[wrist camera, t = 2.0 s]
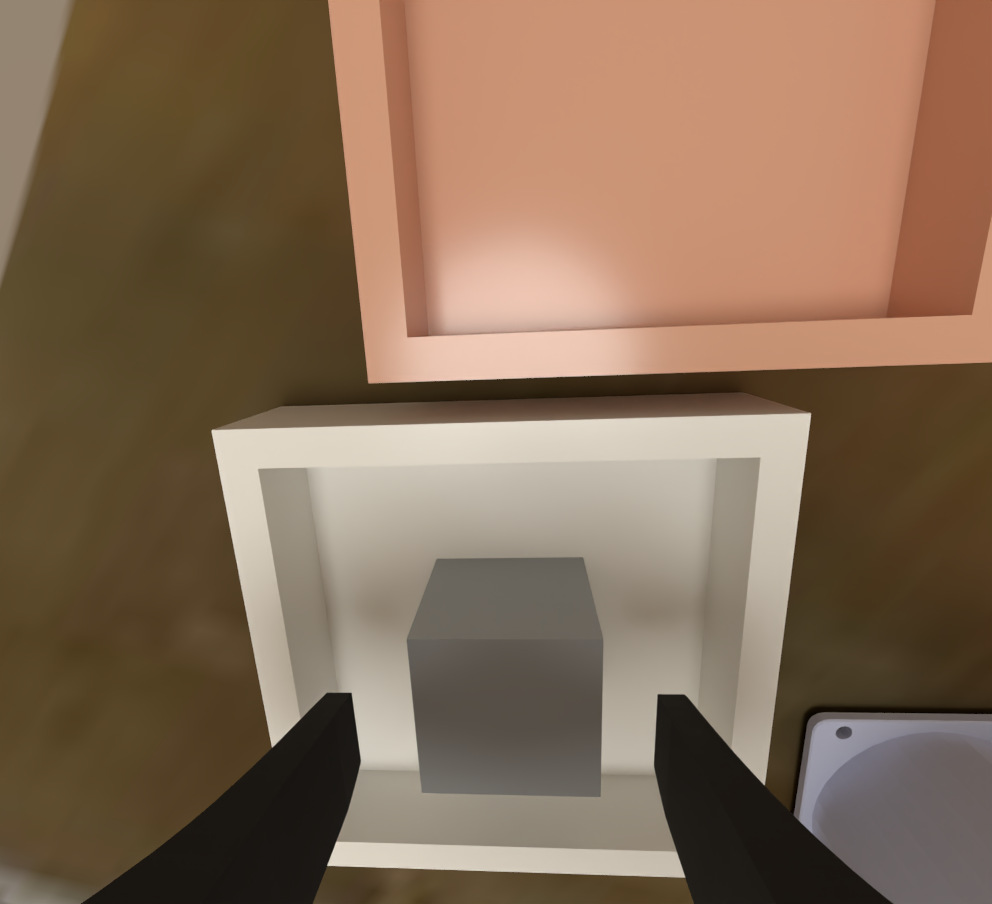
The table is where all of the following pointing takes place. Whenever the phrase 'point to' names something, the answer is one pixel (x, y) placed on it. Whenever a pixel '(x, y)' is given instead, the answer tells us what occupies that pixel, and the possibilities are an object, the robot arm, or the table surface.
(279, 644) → the tub
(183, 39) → the table surface
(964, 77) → the bin
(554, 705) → the gray cube
